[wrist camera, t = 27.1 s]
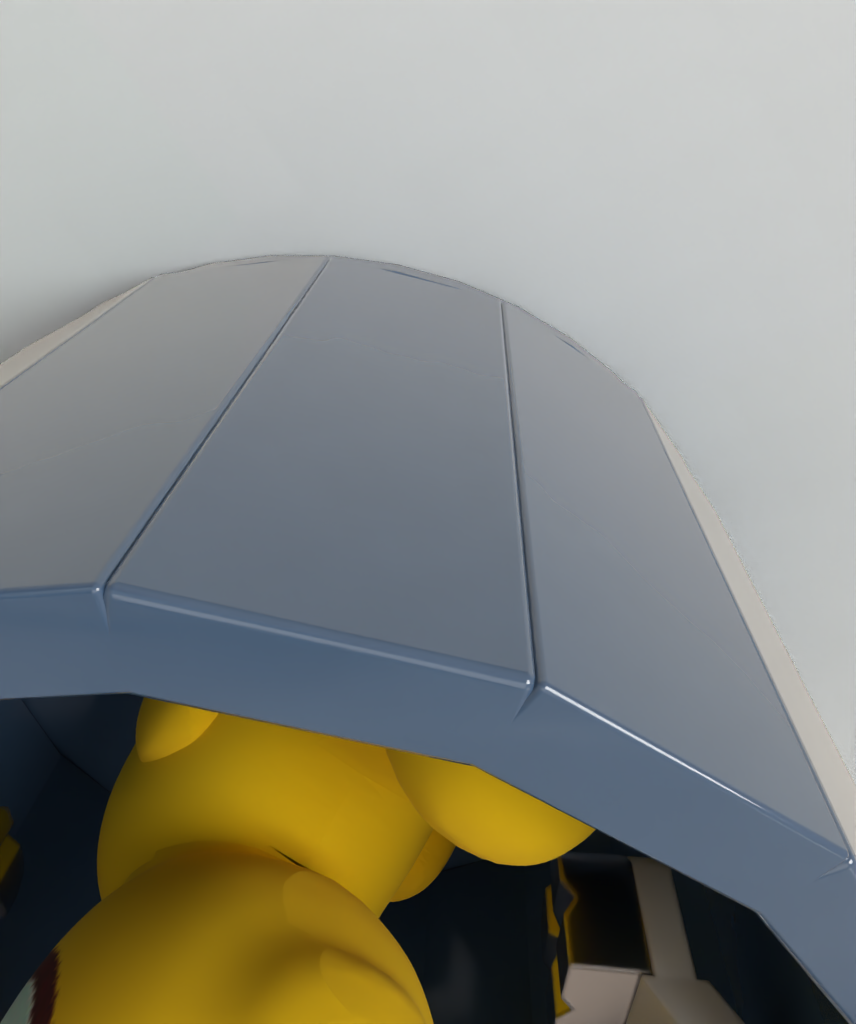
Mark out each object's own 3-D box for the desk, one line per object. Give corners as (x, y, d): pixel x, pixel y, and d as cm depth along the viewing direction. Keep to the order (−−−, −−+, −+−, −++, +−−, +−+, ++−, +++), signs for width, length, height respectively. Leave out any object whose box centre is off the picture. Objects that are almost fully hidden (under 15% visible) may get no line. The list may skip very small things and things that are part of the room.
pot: (35, 852, 19) (-242, 1358, 12) (-147, 212, 12) (-1165, 485, 5) (637, 903, 19) (740, 1453, 12) (827, 283, 12) (1428, 693, 4)
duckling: (281, 855, 18) (96, 1616, 9) (64, 733, 16) (-401, 1509, 8) (679, 530, 13) (1065, 1451, 5) (430, 315, 12) (293, 1092, 3)
